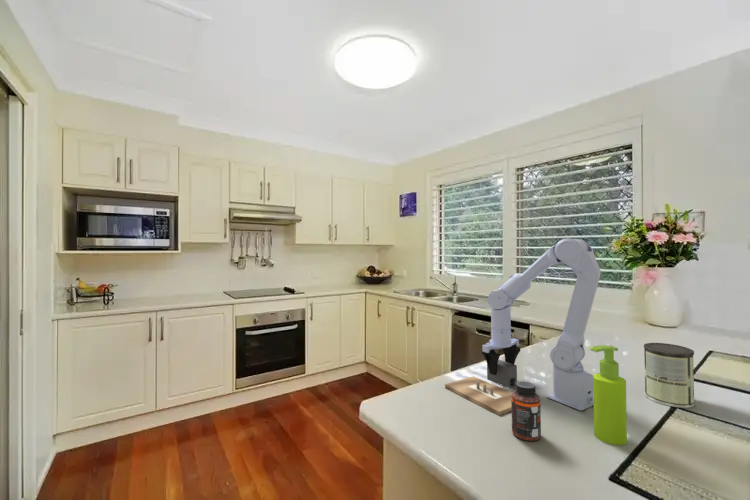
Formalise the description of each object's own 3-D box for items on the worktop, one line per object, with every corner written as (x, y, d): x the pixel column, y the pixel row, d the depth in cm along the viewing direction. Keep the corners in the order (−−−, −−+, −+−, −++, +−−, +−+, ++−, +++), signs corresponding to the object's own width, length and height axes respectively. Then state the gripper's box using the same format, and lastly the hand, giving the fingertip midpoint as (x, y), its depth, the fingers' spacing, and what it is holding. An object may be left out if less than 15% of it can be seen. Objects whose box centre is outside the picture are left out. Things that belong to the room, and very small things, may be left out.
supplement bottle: (544, 443, 72) (543, 390, 72) (514, 441, 73) (514, 388, 73) (536, 429, 77) (536, 380, 77) (509, 426, 79) (508, 378, 79)
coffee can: (638, 389, 98) (637, 341, 98) (682, 394, 94) (681, 344, 94) (654, 405, 88) (653, 351, 88) (704, 410, 85) (703, 355, 85)
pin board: (529, 403, 90) (529, 392, 90) (499, 415, 84) (499, 403, 84) (473, 379, 107) (473, 370, 107) (444, 387, 101) (444, 377, 101)
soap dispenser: (583, 431, 76) (582, 343, 76) (612, 429, 77) (610, 342, 77) (603, 446, 70) (601, 351, 70) (634, 444, 71) (632, 349, 71)
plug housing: (517, 385, 102) (516, 365, 102) (508, 387, 100) (508, 367, 100) (495, 376, 109) (495, 358, 109) (487, 379, 107) (486, 360, 107)
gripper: (505, 323, 112) (506, 363, 112) (474, 328, 105) (475, 372, 105) (524, 327, 106) (524, 370, 106) (492, 333, 99) (493, 379, 99)
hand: (501, 371), depth 105 cm, fingers open, 7 cm apart
